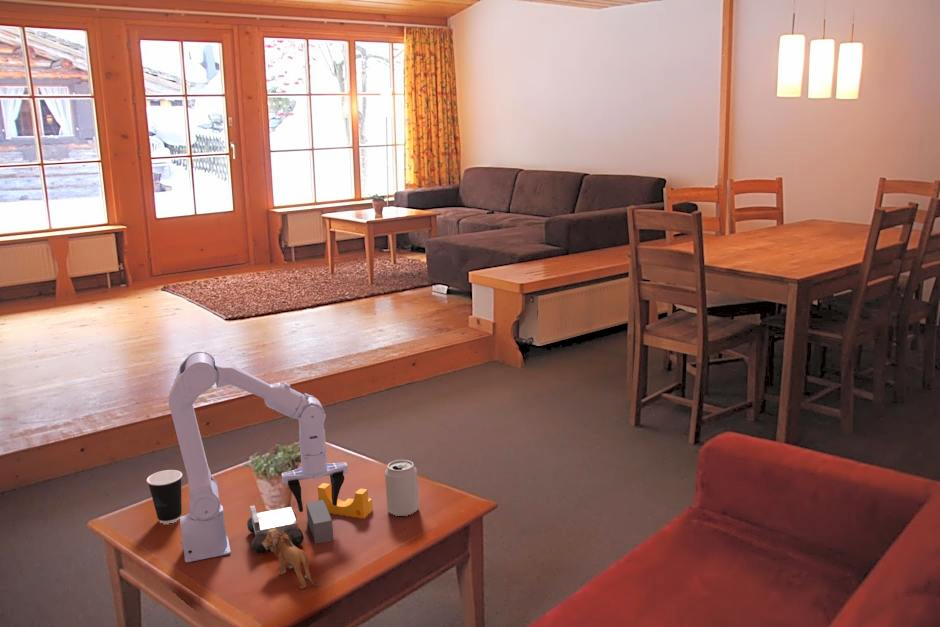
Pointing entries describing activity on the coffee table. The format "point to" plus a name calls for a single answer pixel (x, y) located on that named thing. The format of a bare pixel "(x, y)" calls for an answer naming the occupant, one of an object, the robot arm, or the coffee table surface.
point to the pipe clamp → (346, 502)
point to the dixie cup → (166, 495)
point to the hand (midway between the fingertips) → (317, 506)
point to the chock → (319, 521)
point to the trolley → (273, 526)
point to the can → (401, 488)
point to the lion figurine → (288, 554)
